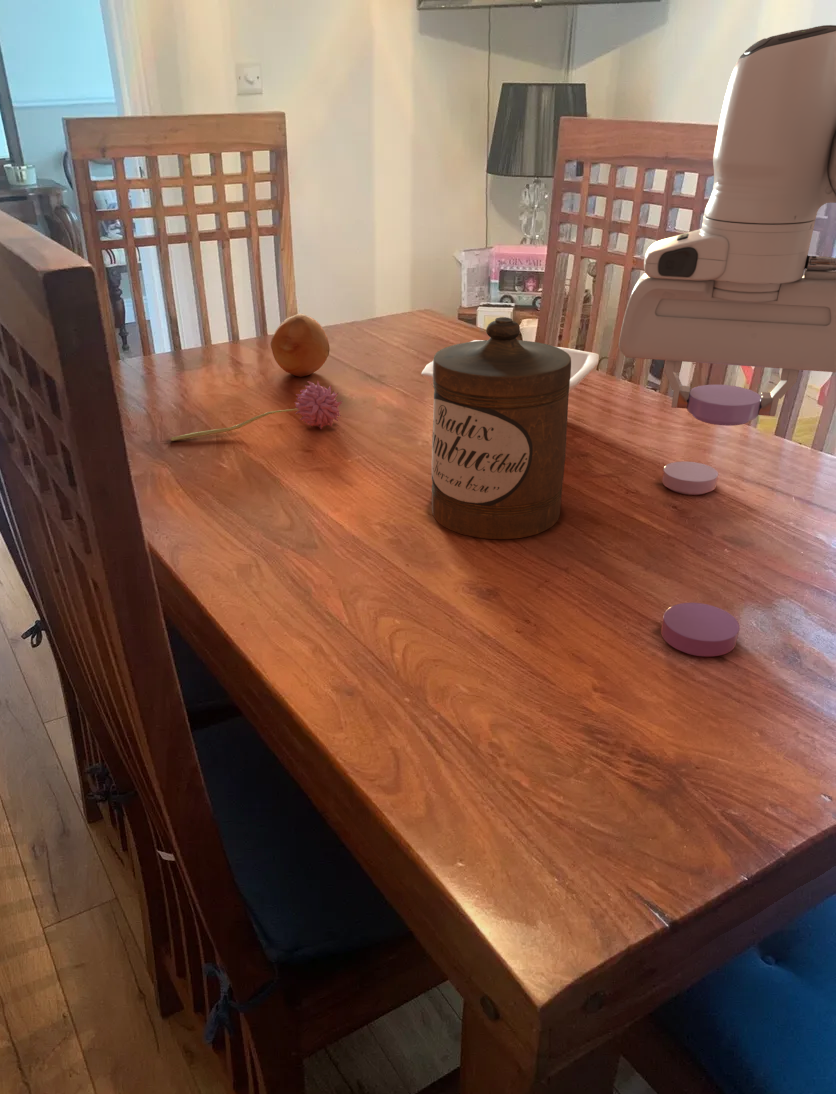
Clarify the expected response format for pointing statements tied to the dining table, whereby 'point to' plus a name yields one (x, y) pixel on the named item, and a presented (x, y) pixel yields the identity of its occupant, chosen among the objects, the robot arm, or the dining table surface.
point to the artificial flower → (312, 406)
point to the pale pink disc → (689, 477)
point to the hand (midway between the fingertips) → (721, 410)
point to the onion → (300, 345)
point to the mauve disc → (700, 629)
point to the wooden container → (499, 434)
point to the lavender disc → (723, 404)
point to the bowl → (579, 366)
